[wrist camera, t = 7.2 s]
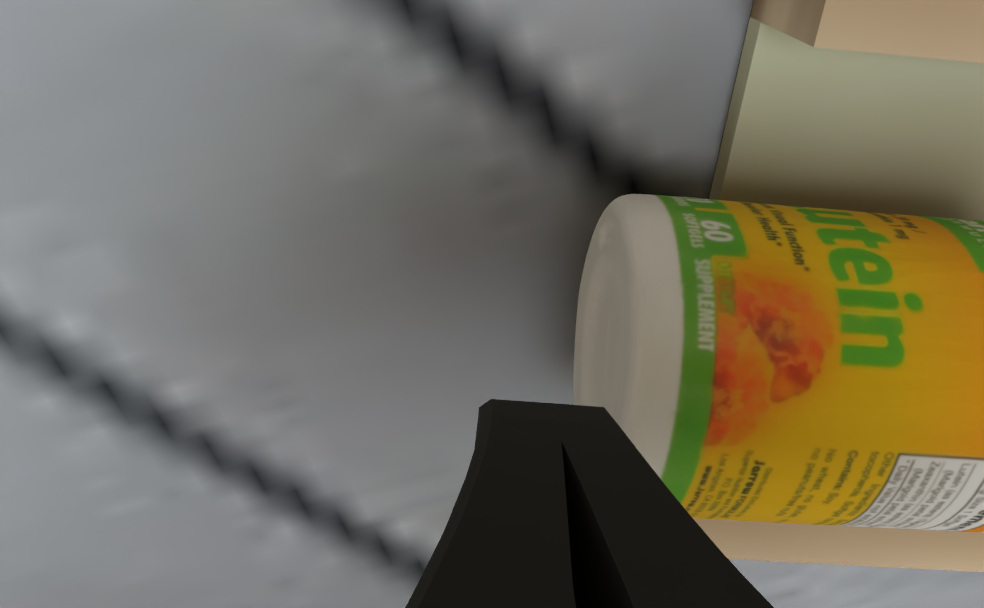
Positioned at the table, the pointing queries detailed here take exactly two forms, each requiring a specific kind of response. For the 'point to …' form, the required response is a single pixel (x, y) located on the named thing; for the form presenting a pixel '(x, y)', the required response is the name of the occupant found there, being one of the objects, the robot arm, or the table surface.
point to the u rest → (857, 180)
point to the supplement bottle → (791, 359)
